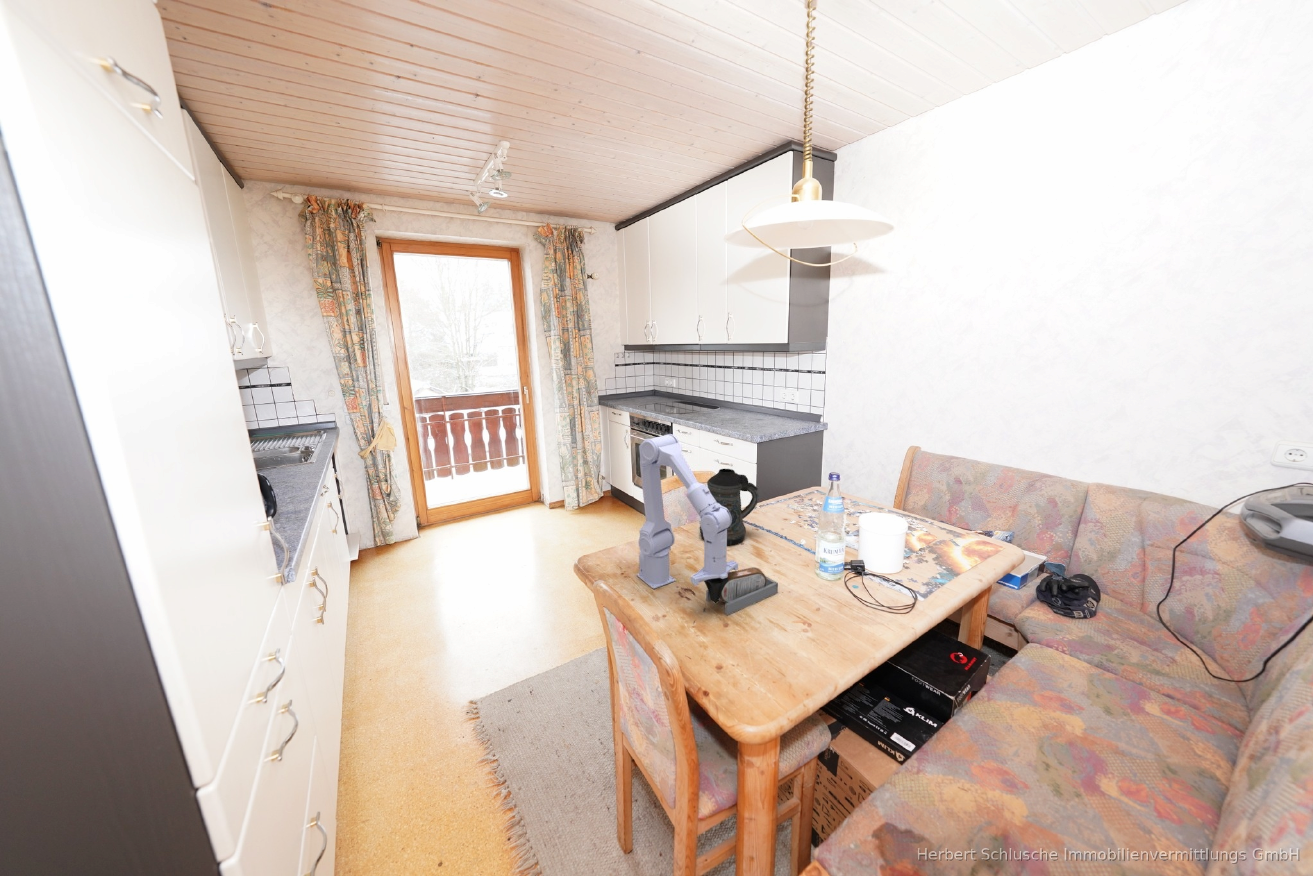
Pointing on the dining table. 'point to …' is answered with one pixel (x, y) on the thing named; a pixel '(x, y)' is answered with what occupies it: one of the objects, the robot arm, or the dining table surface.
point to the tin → (742, 583)
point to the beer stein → (732, 501)
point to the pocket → (749, 597)
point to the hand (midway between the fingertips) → (714, 600)
